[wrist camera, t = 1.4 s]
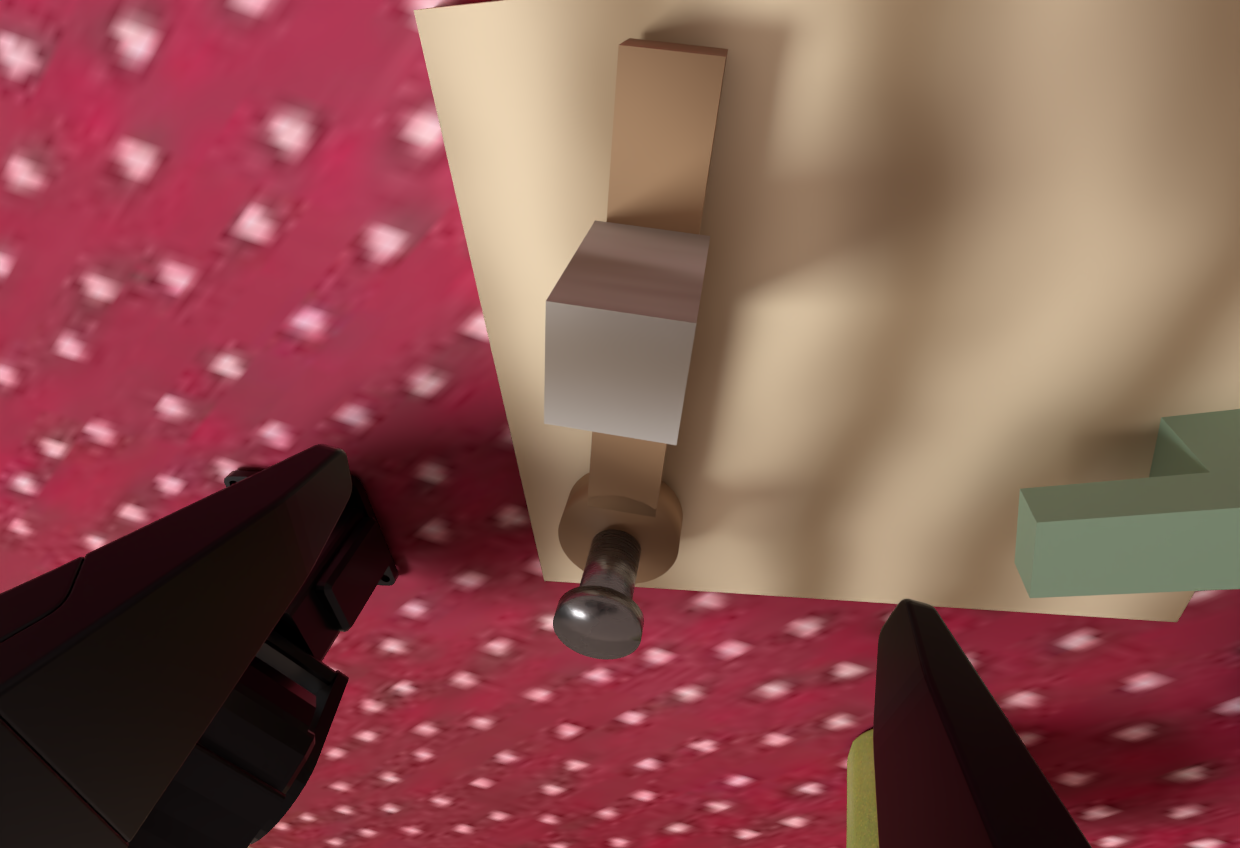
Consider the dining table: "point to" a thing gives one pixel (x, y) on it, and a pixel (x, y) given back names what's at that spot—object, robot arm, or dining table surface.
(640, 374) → the link
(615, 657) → the knob
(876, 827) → the plant pot
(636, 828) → the dining table surface
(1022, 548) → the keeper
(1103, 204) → the base plate
